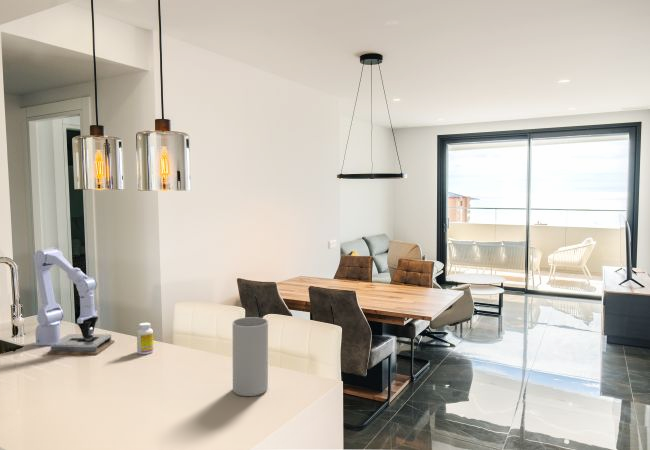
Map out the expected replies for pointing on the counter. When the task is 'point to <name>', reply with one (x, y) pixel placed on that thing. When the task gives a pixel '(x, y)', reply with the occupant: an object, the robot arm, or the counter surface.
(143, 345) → the supplement bottle
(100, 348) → the keyhole board
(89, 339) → the dark grey knob
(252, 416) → the counter surface
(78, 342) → the keyhole plate
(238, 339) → the cylinder vase
